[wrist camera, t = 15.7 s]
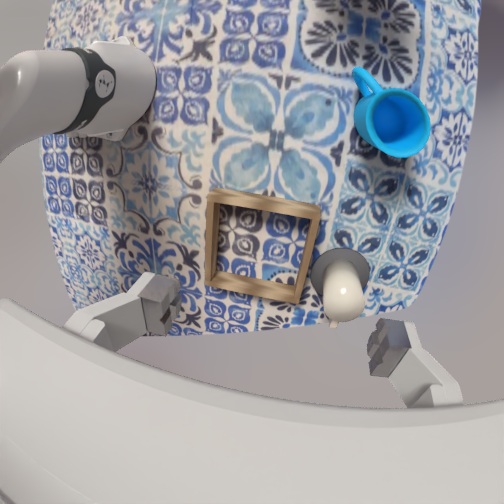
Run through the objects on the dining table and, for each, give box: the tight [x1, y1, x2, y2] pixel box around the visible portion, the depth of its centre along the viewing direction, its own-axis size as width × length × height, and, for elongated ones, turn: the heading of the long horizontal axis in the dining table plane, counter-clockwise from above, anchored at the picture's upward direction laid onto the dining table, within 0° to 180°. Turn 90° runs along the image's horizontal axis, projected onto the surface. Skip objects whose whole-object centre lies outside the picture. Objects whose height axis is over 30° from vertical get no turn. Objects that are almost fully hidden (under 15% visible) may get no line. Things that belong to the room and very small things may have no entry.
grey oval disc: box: [311, 248, 369, 296], centre depth 44 cm, size 10×10×1 cm
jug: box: [323, 260, 365, 328], centre depth 41 cm, size 9×6×8 cm
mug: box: [352, 67, 431, 157], centre depth 28 cm, size 12×8×8 cm
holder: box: [205, 188, 321, 304], centre depth 43 cm, size 16×16×4 cm
